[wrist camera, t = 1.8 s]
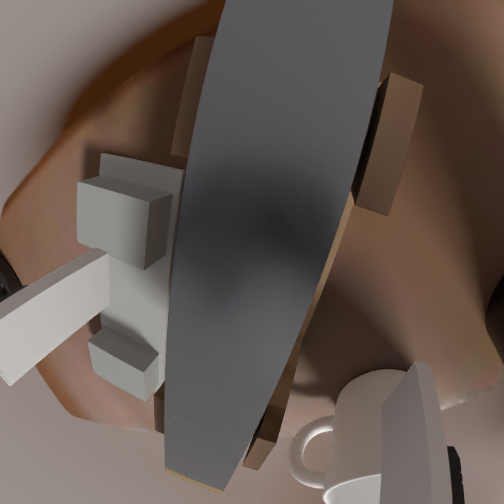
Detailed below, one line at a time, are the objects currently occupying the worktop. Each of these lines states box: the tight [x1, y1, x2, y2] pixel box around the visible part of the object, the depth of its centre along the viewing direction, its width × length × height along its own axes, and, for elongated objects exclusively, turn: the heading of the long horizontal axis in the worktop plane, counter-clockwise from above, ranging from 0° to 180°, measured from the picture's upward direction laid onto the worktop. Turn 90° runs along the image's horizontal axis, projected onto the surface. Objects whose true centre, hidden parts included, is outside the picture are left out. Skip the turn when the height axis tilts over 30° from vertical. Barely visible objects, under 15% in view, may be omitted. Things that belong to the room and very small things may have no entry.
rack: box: [154, 36, 424, 470], centre depth 15 cm, size 7×24×10 cm, turn 167°
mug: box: [287, 369, 407, 504], centre depth 19 cm, size 12×8×10 cm
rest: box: [77, 153, 185, 402], centre depth 24 cm, size 8×24×3 cm, turn 167°
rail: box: [164, 0, 394, 494], centre depth 11 cm, size 26×4×4 cm, turn 167°
